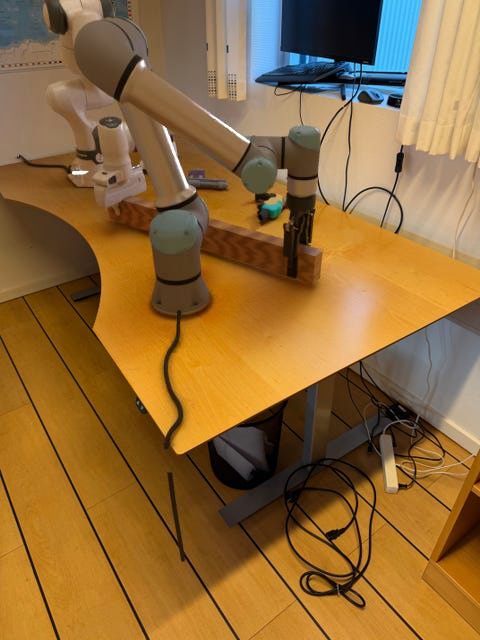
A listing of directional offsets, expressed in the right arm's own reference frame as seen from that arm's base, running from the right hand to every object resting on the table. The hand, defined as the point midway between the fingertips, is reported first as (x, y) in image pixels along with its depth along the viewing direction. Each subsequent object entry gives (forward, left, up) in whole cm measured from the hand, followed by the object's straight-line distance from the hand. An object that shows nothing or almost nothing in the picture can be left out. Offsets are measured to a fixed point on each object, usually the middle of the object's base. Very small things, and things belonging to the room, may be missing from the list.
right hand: (296, 272), depth 133 cm
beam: (+17, +29, -1) cm, 33 cm away
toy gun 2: (+48, +9, -2) cm, 49 cm away
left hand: (+33, +58, +3) cm, 67 cm away
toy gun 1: (+74, +34, -2) cm, 81 cm away
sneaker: (+98, +61, -2) cm, 116 cm away
